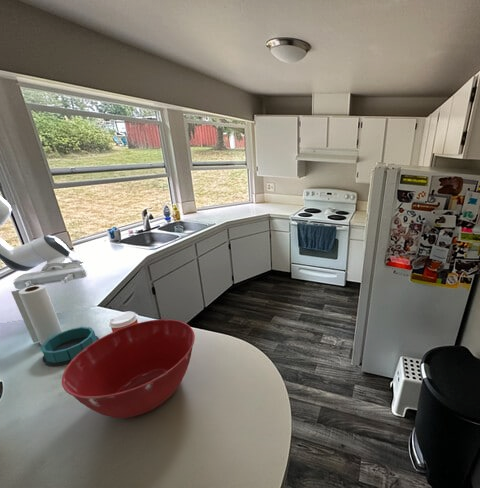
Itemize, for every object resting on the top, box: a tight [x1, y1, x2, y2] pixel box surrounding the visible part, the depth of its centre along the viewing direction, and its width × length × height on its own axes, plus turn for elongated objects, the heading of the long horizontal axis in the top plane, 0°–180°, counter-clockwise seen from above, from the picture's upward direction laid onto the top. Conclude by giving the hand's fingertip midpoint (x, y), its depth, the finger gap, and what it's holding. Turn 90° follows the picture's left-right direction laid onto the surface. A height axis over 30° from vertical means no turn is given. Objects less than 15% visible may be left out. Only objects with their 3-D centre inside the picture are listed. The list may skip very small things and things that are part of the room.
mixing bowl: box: [61, 318, 196, 419], centre depth 70 cm, size 28×28×15 cm
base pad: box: [40, 326, 100, 367], centre depth 86 cm, size 14×14×5 cm
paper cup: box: [108, 310, 139, 332], centre depth 85 cm, size 8×8×14 cm
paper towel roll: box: [10, 285, 64, 346], centre depth 87 cm, size 7×6×21 cm
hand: (47, 284), depth 95 cm, fingers open, 8 cm apart
